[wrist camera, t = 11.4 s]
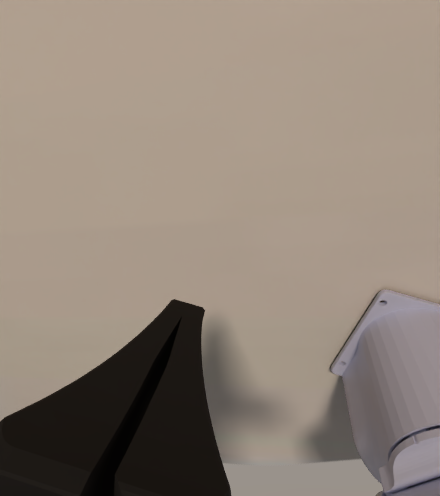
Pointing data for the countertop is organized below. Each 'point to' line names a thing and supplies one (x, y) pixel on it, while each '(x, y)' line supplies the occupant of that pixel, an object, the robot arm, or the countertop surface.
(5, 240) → the countertop surface
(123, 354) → the robot arm
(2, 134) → the countertop surface
